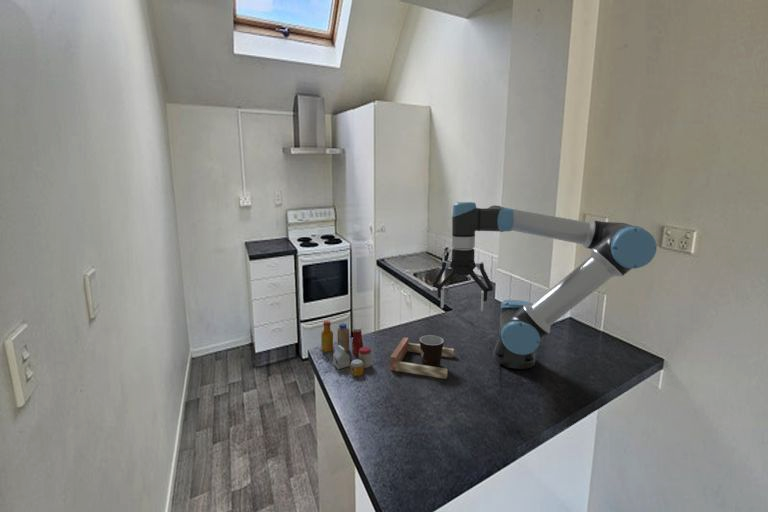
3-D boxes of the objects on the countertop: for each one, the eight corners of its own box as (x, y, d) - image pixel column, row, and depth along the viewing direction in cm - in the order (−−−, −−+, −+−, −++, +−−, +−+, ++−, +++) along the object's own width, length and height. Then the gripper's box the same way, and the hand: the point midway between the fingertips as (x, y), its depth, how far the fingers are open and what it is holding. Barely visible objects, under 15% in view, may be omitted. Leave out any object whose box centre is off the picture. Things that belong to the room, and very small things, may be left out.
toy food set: (318, 350, 148) (318, 321, 146) (347, 343, 155) (347, 315, 153) (348, 379, 126) (348, 346, 124) (380, 370, 133) (380, 338, 130)
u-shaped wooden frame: (453, 355, 143) (454, 343, 142) (446, 378, 126) (447, 365, 125) (403, 348, 149) (403, 337, 148) (390, 369, 132) (390, 356, 131)
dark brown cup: (442, 372, 130) (443, 346, 128) (417, 370, 132) (418, 344, 130) (443, 357, 142) (444, 333, 140) (421, 355, 143) (421, 331, 141)
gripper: (501, 247, 125) (499, 307, 129) (428, 245, 133) (428, 302, 137) (501, 251, 118) (499, 314, 122) (424, 248, 126) (424, 308, 130)
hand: (461, 308), depth 129 cm, fingers open, 13 cm apart
